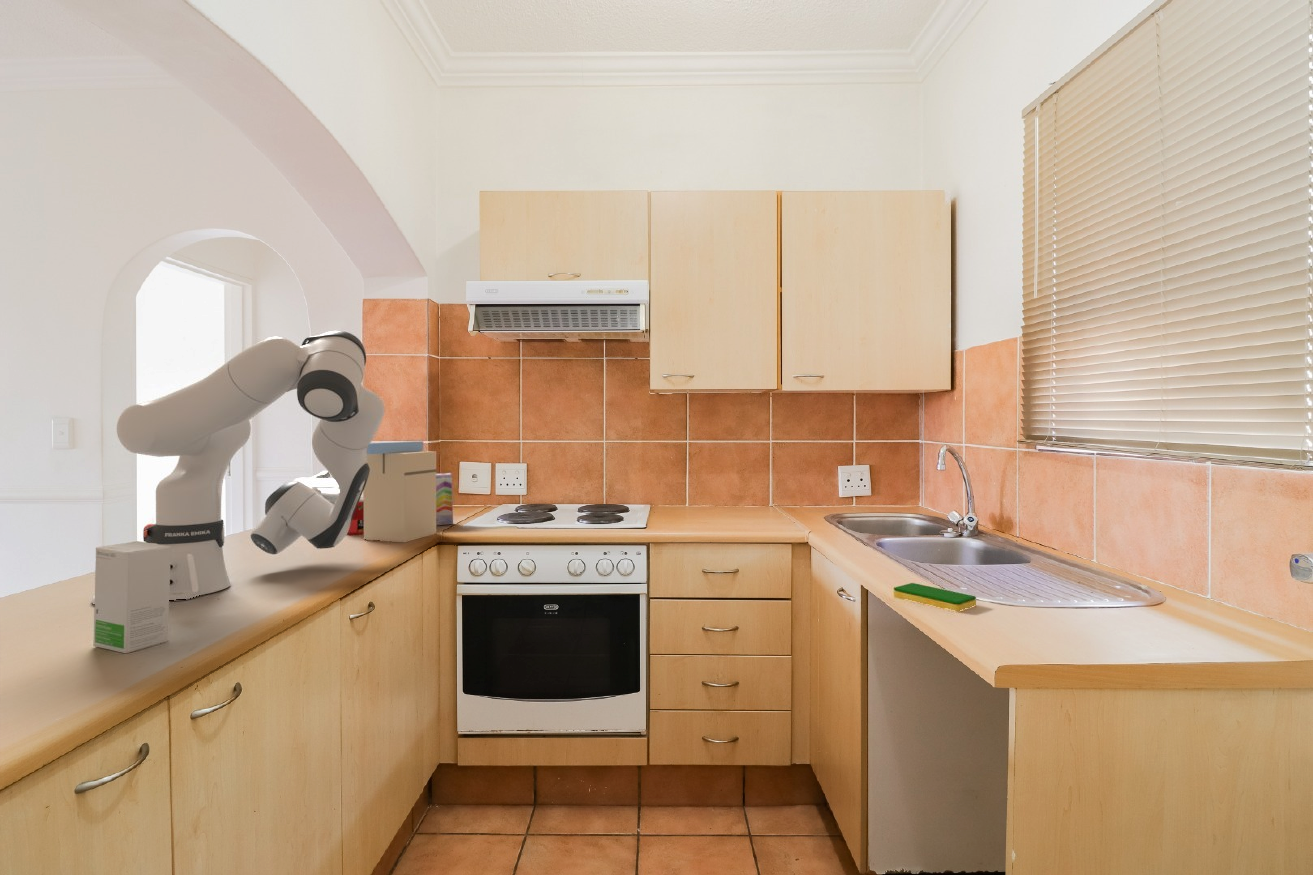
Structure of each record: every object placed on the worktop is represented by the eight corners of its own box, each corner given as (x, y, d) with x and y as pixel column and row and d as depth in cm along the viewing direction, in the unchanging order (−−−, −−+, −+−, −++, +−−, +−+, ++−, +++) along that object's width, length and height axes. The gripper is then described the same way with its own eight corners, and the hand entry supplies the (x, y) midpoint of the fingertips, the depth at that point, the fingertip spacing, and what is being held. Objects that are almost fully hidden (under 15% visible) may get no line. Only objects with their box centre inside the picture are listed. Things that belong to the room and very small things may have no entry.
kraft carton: (404, 542, 192) (404, 453, 191) (363, 539, 195) (363, 452, 195) (436, 533, 207) (436, 451, 207) (397, 531, 211) (397, 450, 210)
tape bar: (370, 454, 184) (370, 443, 184) (358, 453, 185) (357, 443, 185) (423, 450, 209) (423, 441, 209) (412, 450, 210) (412, 441, 210)
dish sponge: (958, 614, 124) (958, 601, 124) (892, 599, 135) (892, 587, 135) (976, 608, 128) (977, 596, 128) (911, 593, 139) (912, 582, 139)
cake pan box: (392, 528, 217) (392, 475, 217) (393, 526, 222) (392, 474, 222) (453, 525, 224) (453, 473, 224) (452, 523, 229) (452, 472, 229)
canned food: (361, 535, 203) (361, 500, 203) (338, 534, 204) (338, 499, 204) (376, 531, 210) (376, 497, 210) (354, 530, 212) (354, 496, 212)
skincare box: (92, 647, 102) (91, 547, 101) (139, 634, 108) (138, 540, 108) (127, 654, 99) (126, 551, 98) (173, 640, 105) (172, 543, 105)
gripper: (338, 495, 161) (370, 464, 172) (269, 492, 166) (306, 462, 178) (347, 516, 164) (378, 484, 175) (280, 512, 169) (315, 482, 181)
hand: (341, 473), depth 177 cm, fingers open, 8 cm apart
